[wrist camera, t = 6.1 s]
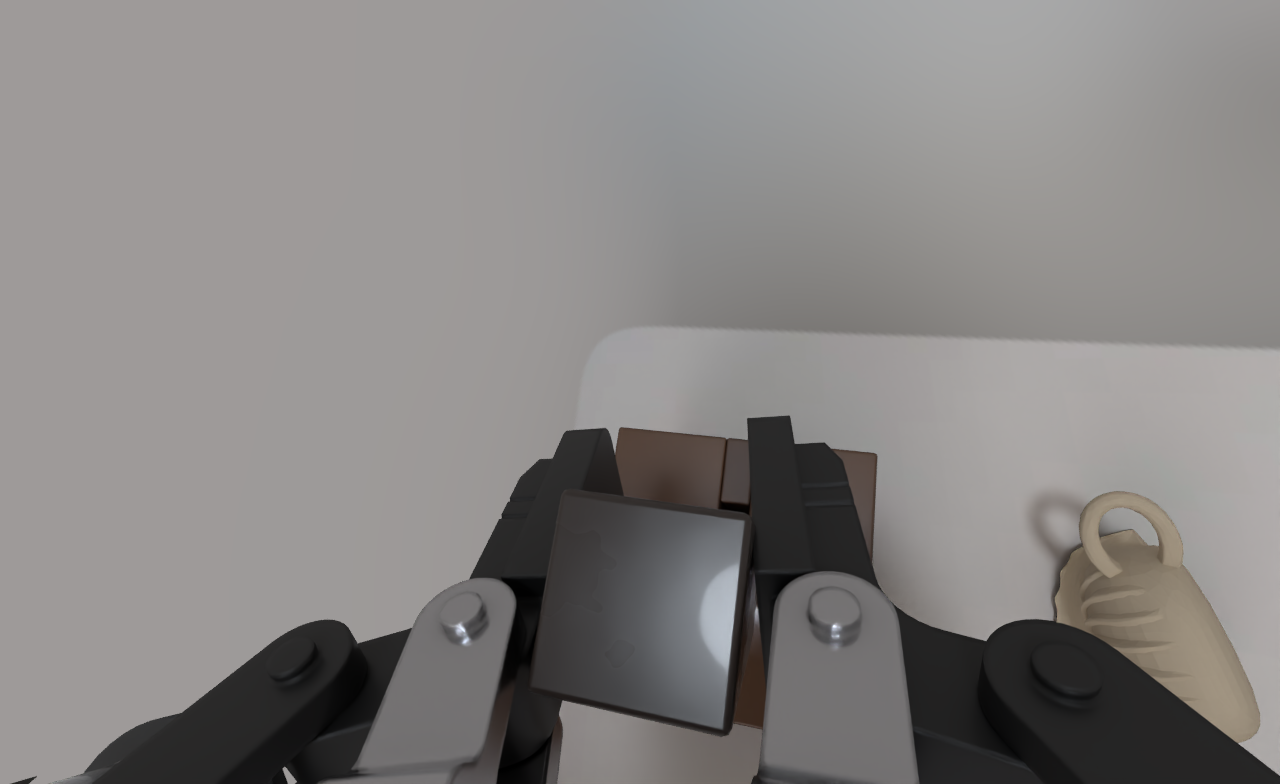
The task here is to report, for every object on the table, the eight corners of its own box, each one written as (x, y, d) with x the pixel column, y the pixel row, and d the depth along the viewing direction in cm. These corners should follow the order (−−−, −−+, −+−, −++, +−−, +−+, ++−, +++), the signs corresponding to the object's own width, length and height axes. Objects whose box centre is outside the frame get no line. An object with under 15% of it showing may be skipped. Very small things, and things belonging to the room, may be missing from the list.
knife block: (835, 689, 23) (863, 753, 15) (637, 650, 25) (577, 689, 17) (847, 484, 25) (877, 452, 17) (663, 463, 27) (618, 426, 19)
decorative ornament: (1101, 749, 21) (1205, 810, 16) (1010, 512, 23) (1074, 499, 18) (1230, 731, 20) (1381, 789, 15) (1121, 489, 23) (1220, 470, 18)
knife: (758, 621, 22) (725, 798, 6) (698, 611, 22) (513, 746, 6) (766, 533, 22) (758, 466, 6) (709, 524, 23) (567, 444, 7)
